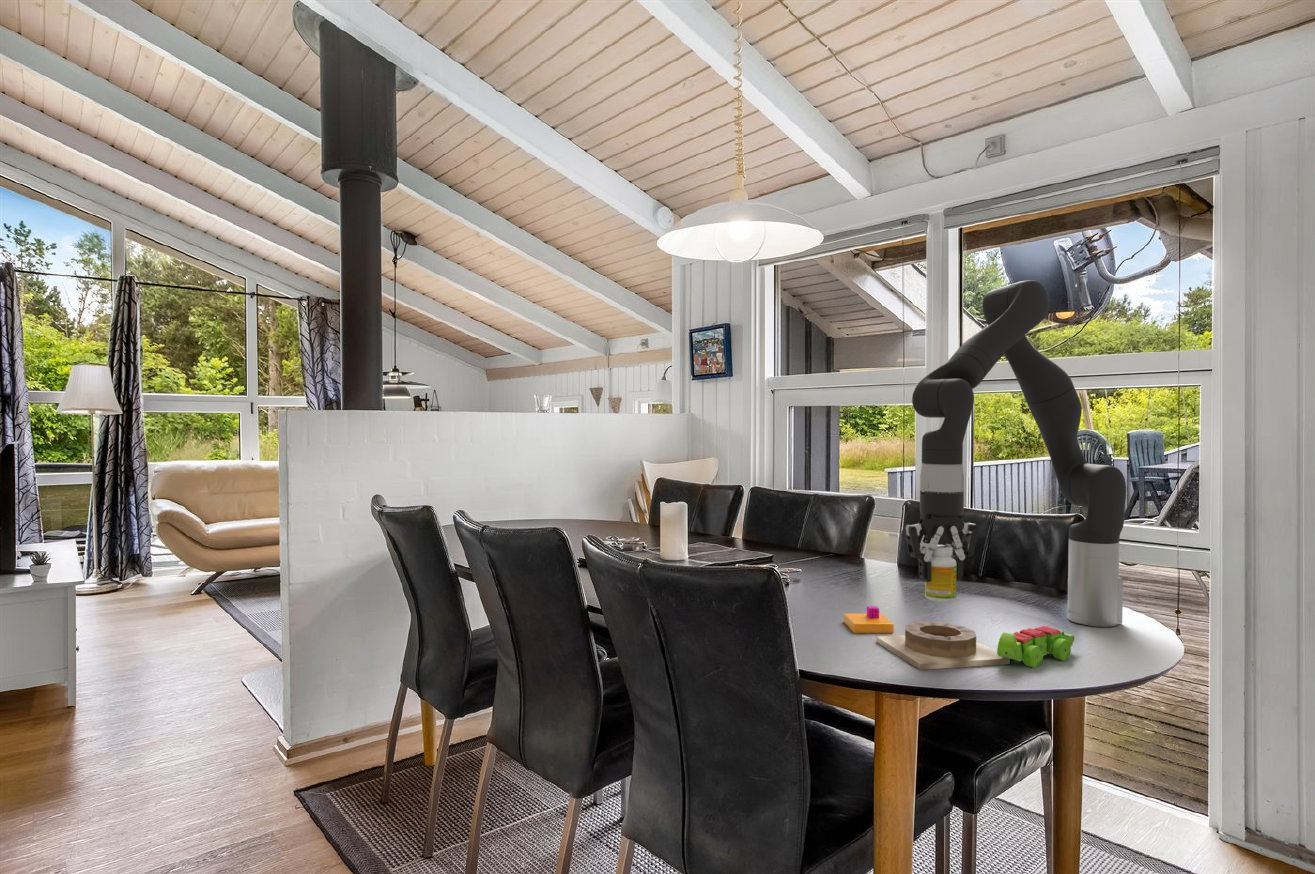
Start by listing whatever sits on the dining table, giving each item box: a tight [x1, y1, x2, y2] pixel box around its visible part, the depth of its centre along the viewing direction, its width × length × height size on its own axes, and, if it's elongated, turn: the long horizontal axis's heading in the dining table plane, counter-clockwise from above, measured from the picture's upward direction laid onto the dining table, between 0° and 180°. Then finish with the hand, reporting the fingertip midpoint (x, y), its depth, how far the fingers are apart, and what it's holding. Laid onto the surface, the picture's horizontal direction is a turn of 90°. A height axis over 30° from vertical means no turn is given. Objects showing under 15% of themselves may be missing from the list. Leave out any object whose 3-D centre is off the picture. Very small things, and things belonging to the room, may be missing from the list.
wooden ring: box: [904, 621, 977, 658], centre depth 136 cm, size 12×12×3 cm
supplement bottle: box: [924, 544, 957, 603], centre depth 136 cm, size 5×5×10 cm
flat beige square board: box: [875, 634, 1011, 671], centre depth 136 cm, size 17×16×1 cm
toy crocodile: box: [996, 625, 1075, 669], centre depth 133 cm, size 20×7×6 cm, turn 119°
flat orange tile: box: [843, 605, 895, 634], centre depth 153 cm, size 8×8×4 cm
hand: (940, 579), depth 136 cm, fingers closed on supplement bottle, 5 cm apart
